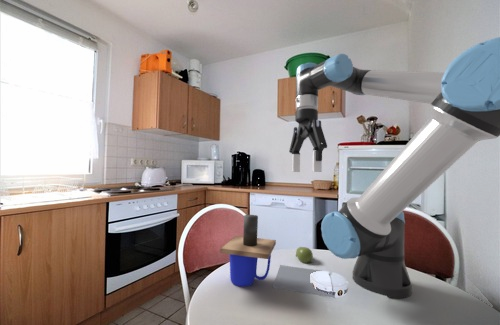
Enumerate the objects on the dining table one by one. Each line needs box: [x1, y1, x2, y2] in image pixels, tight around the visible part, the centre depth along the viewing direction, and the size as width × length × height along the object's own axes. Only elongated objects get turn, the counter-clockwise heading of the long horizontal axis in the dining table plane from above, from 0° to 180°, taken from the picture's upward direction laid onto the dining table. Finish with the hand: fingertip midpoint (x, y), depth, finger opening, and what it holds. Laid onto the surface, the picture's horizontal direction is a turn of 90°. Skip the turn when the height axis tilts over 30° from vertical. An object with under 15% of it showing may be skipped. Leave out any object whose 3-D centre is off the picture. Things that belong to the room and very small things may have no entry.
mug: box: [229, 254, 272, 288], centre depth 66 cm, size 8×12×10 cm
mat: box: [272, 264, 335, 299], centre depth 68 cm, size 16×16×1 cm
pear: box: [295, 246, 314, 264], centre depth 85 cm, size 6×5×10 cm
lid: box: [219, 214, 277, 260], centre depth 66 cm, size 13×13×9 cm
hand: (305, 172), depth 78 cm, fingers open, 13 cm apart
